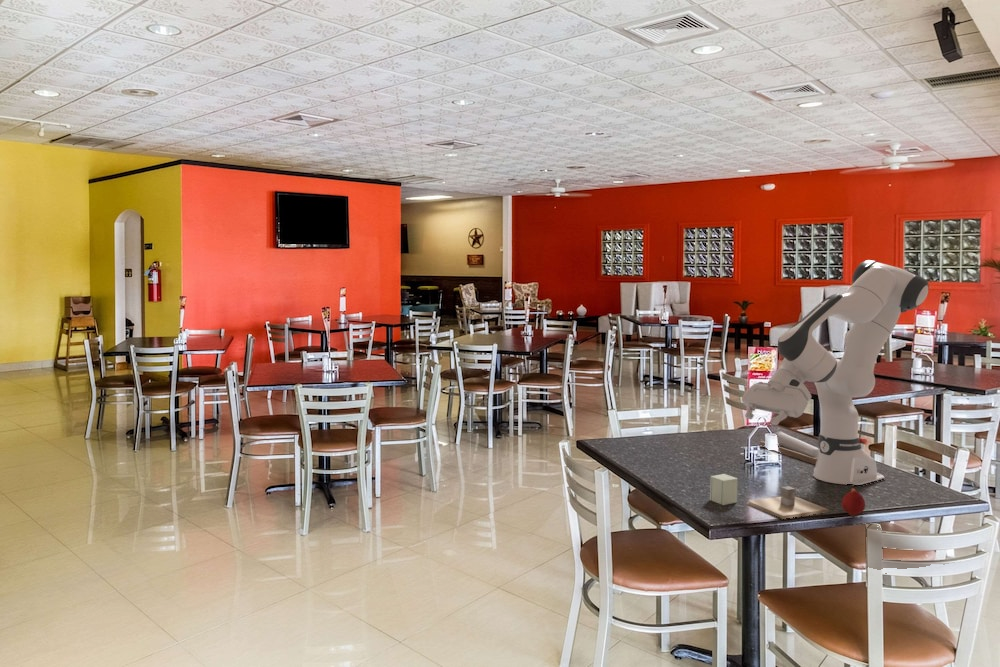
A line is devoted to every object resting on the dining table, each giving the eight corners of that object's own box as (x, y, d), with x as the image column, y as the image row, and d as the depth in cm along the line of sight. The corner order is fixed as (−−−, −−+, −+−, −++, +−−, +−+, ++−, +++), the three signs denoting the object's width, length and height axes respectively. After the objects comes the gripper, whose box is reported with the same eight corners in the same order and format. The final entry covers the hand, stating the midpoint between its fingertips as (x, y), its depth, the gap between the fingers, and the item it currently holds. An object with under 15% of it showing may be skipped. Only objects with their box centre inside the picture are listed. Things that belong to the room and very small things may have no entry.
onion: (857, 513, 209) (859, 485, 209) (868, 520, 204) (870, 491, 203) (837, 513, 209) (838, 485, 208) (847, 520, 203) (849, 491, 203)
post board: (791, 498, 222) (792, 478, 222) (827, 512, 209) (828, 491, 209) (748, 504, 217) (749, 484, 216) (782, 519, 204) (783, 498, 203)
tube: (827, 450, 263) (787, 432, 288) (814, 447, 262) (775, 429, 287) (823, 464, 264) (783, 445, 288) (810, 461, 263) (771, 443, 287)
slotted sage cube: (723, 497, 223) (723, 473, 222) (736, 502, 218) (737, 478, 218) (709, 499, 220) (710, 476, 220) (723, 505, 216) (724, 480, 215)
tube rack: (782, 443, 290) (782, 438, 290) (838, 461, 264) (839, 456, 264) (759, 446, 286) (760, 441, 286) (815, 464, 260) (815, 458, 260)
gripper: (751, 374, 234) (728, 408, 230) (807, 384, 217) (783, 420, 213) (760, 387, 237) (738, 420, 233) (816, 398, 219) (793, 434, 215)
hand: (760, 420), depth 223 cm, fingers open, 8 cm apart
